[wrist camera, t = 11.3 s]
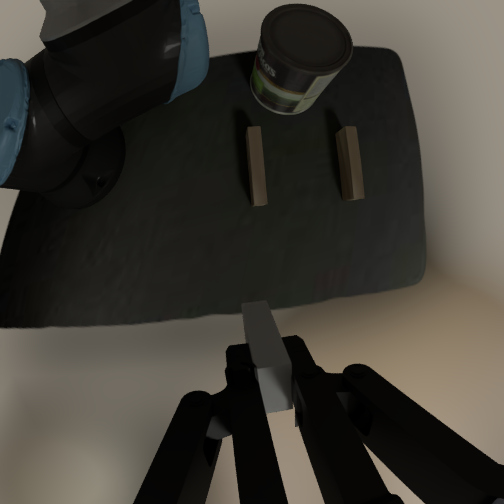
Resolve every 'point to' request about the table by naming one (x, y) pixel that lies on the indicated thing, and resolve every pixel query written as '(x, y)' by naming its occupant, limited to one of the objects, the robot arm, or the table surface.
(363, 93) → the table surface
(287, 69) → the coffee can
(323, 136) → the table surface
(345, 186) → the chute
